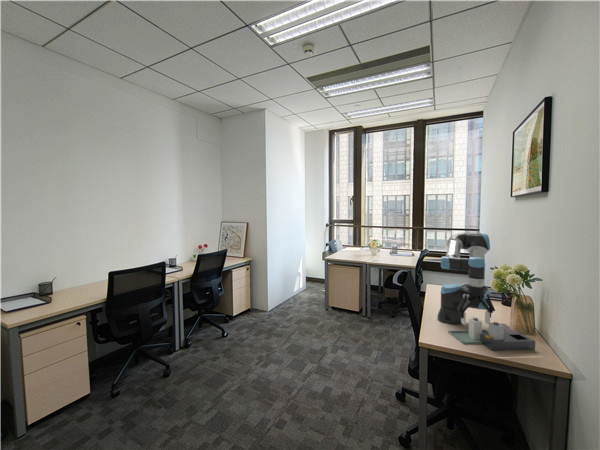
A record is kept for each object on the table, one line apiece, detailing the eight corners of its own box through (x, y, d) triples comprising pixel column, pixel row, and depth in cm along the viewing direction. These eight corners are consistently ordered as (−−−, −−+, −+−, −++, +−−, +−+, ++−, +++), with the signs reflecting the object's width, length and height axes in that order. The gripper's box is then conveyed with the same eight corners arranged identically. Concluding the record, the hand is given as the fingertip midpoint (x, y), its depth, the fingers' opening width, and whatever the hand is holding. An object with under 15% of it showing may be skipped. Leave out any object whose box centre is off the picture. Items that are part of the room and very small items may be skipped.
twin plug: (488, 341, 143) (488, 321, 143) (496, 341, 144) (497, 321, 143) (494, 345, 139) (495, 324, 139) (503, 345, 139) (503, 324, 139)
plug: (468, 335, 153) (468, 316, 153) (476, 335, 154) (476, 316, 153) (473, 339, 149) (474, 320, 148) (481, 339, 149) (482, 319, 149)
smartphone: (505, 323, 170) (519, 334, 155) (505, 325, 170) (519, 335, 155) (492, 322, 171) (504, 332, 157) (492, 324, 171) (504, 334, 157)
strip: (480, 343, 146) (480, 332, 145) (520, 342, 146) (520, 331, 146) (492, 351, 137) (492, 340, 136) (535, 350, 137) (535, 339, 137)
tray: (448, 333, 158) (448, 330, 158) (485, 332, 159) (485, 329, 159) (463, 344, 144) (463, 342, 144) (504, 344, 145) (504, 341, 145)
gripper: (458, 287, 146) (457, 326, 146) (503, 287, 146) (502, 326, 147) (449, 284, 153) (449, 321, 154) (493, 283, 154) (492, 320, 155)
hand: (475, 323), depth 151 cm, fingers open, 13 cm apart
